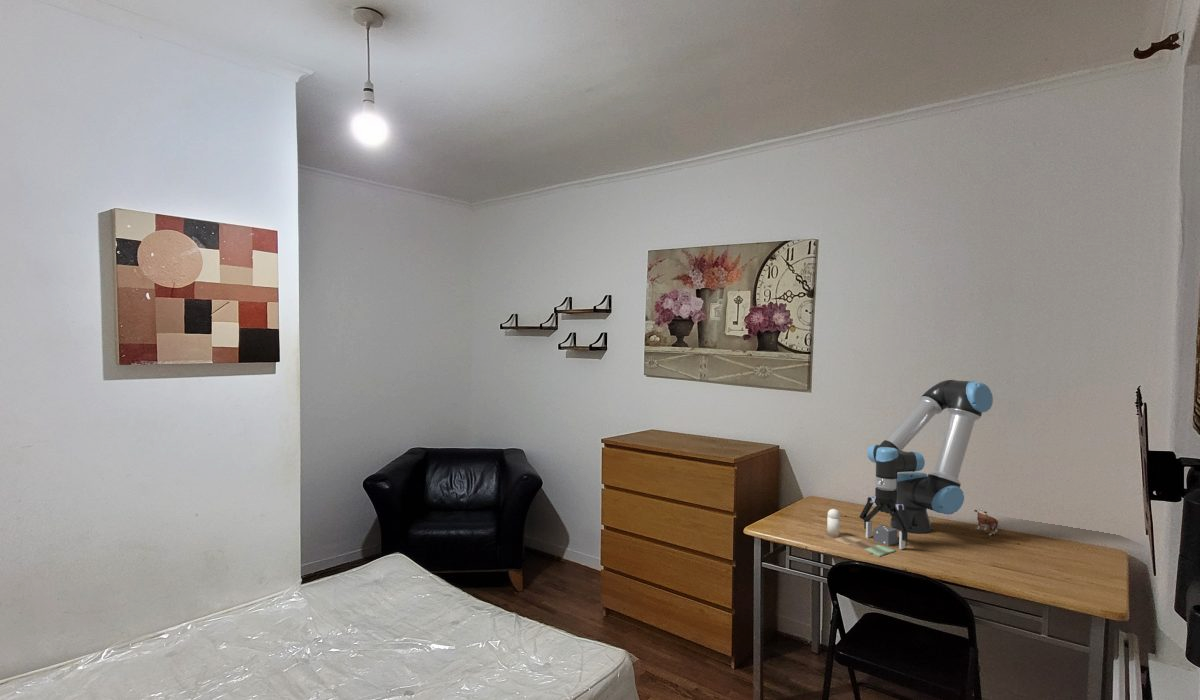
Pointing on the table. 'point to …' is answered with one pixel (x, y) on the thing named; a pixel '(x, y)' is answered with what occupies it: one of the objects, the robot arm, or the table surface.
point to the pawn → (833, 523)
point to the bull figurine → (986, 521)
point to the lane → (861, 544)
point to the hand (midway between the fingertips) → (884, 543)
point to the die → (885, 535)
